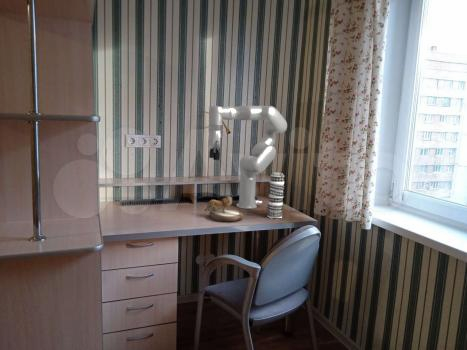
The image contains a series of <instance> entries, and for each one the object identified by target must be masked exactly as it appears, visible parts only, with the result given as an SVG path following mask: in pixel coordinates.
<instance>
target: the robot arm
mask: <svg viewBox="0 0 467 350" xmlns="http://www.w3.org/2000/svg"><path fill="white" fill-rule="evenodd" d="M224 120H225V121H232V120H236V121H237V120H239V121H264V123H263V136H262V137H261V138H260V140H259V141H258V142H257V143H256V144H255V145H254V146H253V148H252V150H251V155H244V156H242V157H241V158H240V160H239V175H240V177H239V178H240V179H239V196H238V197H239V199H238V203H236V207H237V208H239V209H244V210H252V209H253V210H254V209H257V207H258V206H257V205H262V204H263V201H262V200H256V197H255V196H256V184H257V177H256V174H260V173H263V172H264V171H265V170H266V168H267V167H268V166H270V164H271V163H272V162H273V160H274V159H275V157H276V155H277V151H276V147H275V146H274V145H275V143H276V134H277V133H278V134H282V133H285V132H286V131H287V128H288V123H287V121H286V119H285V118H284V116H283V115H282V114H281V113H280V111H279V110H278V109H277V108H276V107H274V106H273V105H240V106H228V105H227V106H222V105H221V106H219V105H211V106H210V107H209V111H208V131H209V133H208V142H207V147H208V148H209V154H208V158H209V159H213V161H219V160H220V149H221V132H223V121H224Z"/></svg>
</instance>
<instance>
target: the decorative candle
mask: <svg viewBox="0 0 467 350" xmlns="http://www.w3.org/2000/svg"><path fill="white" fill-rule="evenodd" d="M269 176H270V177H269V179H270V180H269V181H268V190H267V191H268V204H267V210H266V212H267V213H266V217H267V218H268V217H269V218H268V219H272V218H281V219H282V218H283V213H284V212H283V209H284V208H283V207H284V205H283V204H284V203H283V202H284V201H283V198H284V197H285V192H284V191H285V190H286V189H285V187H286V186H285V175H284V173H282V172H278V171H274V172H272V173H271V174H270V175H269Z"/></svg>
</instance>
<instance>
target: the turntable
mask: <svg viewBox="0 0 467 350" xmlns="http://www.w3.org/2000/svg"><path fill="white" fill-rule="evenodd" d="M212 211H214V213H212V212H211V210H210V211H209V217H210V219H213V220H215V221H220V222H221V221H222V222H236V221H240V220H242V219H243V217H244V213H243V212H242V211H239V210H237V209H231V208H229V209H228V208H225V210H224V211H225V214H223V212H222V208H217V207H216V206H215V205H214V206H213V209H212Z"/></svg>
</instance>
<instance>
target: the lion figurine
mask: <svg viewBox="0 0 467 350" xmlns="http://www.w3.org/2000/svg"><path fill="white" fill-rule="evenodd" d="M232 203H233V197H231V196H229V195H228V196H226V197H224V198H222V199H220V200H216V199H211V200H209V201H208V203H207V206H206V208H205V209H204V211H205V212H207V211H208V212H210V211H211V212H212V213H214V211H212V210H213V206H214V205H215V206H216V208H217V209H222V212H223V214H225V211H224V210H225V209H228V208H229V207H230V206H232Z"/></svg>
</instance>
